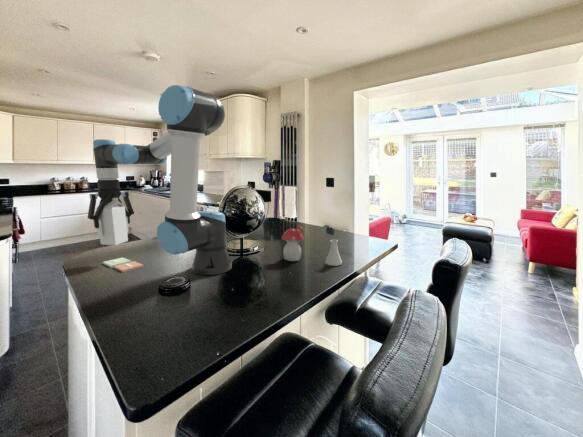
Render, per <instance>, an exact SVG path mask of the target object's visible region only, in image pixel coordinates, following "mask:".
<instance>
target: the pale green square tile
mask: <svg viewBox="0 0 583 437" xmlns="http://www.w3.org/2000/svg"><path fill="white" fill-rule="evenodd" d="M128 262H132V260H131V259H128V258H125V257H123V256H122V257H118V258H114V259H110V260H106V261H102V265H104V266H107V267H109V268H114V266H116V265H120V264H124V263H128Z"/></svg>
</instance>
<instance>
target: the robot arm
mask: <svg viewBox="0 0 583 437" xmlns="http://www.w3.org/2000/svg"><path fill="white" fill-rule="evenodd" d="M157 107H158V115H159V116H160V119H161V120H162V122H164V123H165V125H166V131H167V132H166V133H164V134H163V135H161V136H160V137H158V138H156V139H155V140H154V141H152V142H151V143H148V145H140V144H139V145H138V144H129V143H118V144H116V142H115V140H113V139H103V138H102V139H99V138H97V139H94V140H93V142H92V143H93V144H92V145H93V155H94V156H93V157H94V164H95V165H94V166H95V172H96V178H97V179H98V180H97V181H96V182H97V193H90V194H89V199H90V201H89V207H88V213H87V219H89V220H93V228H95V229H96V230H97V236H98V237H100V236H103V233H102V224H101V220H99V217H100V215H101V213H102V211H103V209H104V206H105V205H106V203H110V202H111V201H113V199H112V198H118V201H119V202H120V203H121V204H122V205H124V204H125V214H126V224H127V233H129V232H130V231H129V230H130V229H129V224H131V219H130V217H131V216H132V215H134V214H135V211H134V209H133V206H132V204H131V201H130V198H129V196H130V195H129V192H128V191H121V187H120V186H121V185H120V180H119V178H120V176H119V167H118V166H119V165H127V166H129V165H153V166H157V165H163V164H165V162H166V160H167V159H168V156H171V157H170V189H169V195H170V196H169V210H167V211H166V212H165V213H164V221H163V222H160V223H159V224H158V226H157V227H156V238H157V242H158V244H159V246H160V247H161V249H163V251H164V252H166V253H167V254H170V255H172V256H176V255H180V254H186V253H188V252H191V251H194V250H195V254H194V259H193V261H192V265H191V267H192V270H191V271H192V272H193V274H195V275H200V276H213V275H214V276H215V275H221V274H224V273H226V272H228V271H231V269H232V267H233V265H232V260H231V257H230V254H229V251H228V248H227V225H226V223H227V222H226V215H225V214H224V213H223V212H220V211H209V210H208V211H207V210H198V209H197V207H198V206H197V205H198V186H199V166H200V165H199V164H200V144H201V142H200V141H201V139H202V138H203V137H205V136H206V137H207V136H210V135H211V134H212V133H214V132H216V131H218V130H219V128H221V127H222V125H223V123H224V121H225V117H226V111H225V107H224V105H223V103H222V102H221V100H220V99H219V98H218V97H217V96H215V95H214V94H211V93H207V92H204V91H201V90H198V89H196V88H192V87H189V86H185V85H179V84H173V85H170V86H167V88H165V90H164V91H163V92H162V93H161V95H160V97H159V101H158V106H157ZM98 197H99V198H100V200H99V205H98V206H97V207H98V208H97V207H96V204H97V200H98ZM120 197H122V198H123V201H124V204H123V202H122V200H121V199H120ZM119 206H121V205H119Z"/></svg>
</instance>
